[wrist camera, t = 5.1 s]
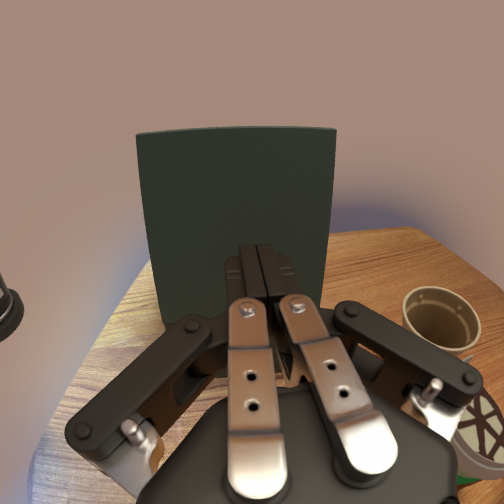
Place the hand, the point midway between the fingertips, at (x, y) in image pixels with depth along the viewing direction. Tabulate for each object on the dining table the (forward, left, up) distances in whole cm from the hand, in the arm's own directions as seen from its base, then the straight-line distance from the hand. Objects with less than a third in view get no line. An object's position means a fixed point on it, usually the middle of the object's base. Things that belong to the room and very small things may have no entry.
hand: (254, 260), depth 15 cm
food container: (+16, -7, -21) cm, 27 cm away
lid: (0, +9, -3) cm, 9 cm away
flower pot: (+20, +5, -21) cm, 29 cm away
